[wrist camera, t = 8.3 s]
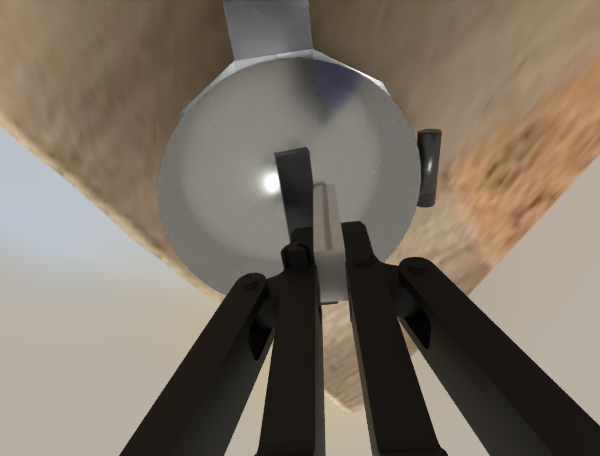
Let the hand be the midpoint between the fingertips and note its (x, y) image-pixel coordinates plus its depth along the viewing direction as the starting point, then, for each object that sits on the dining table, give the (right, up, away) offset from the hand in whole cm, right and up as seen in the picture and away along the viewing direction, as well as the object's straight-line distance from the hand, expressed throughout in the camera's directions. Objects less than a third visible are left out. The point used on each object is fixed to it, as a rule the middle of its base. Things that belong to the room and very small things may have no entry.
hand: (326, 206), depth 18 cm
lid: (-2, 0, +1) cm, 2 cm away
